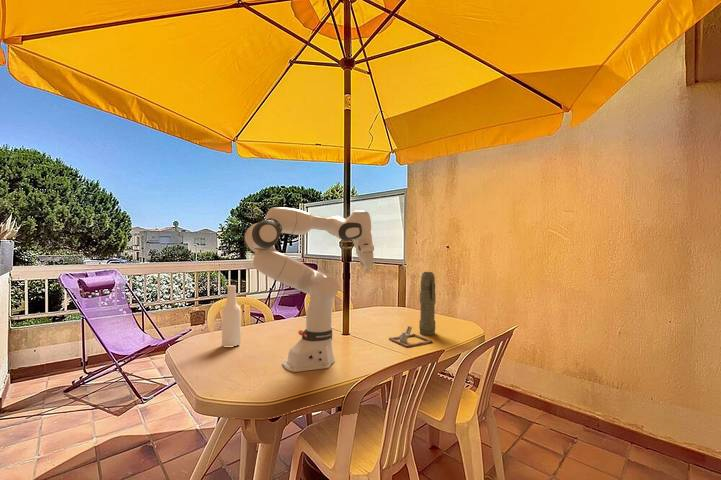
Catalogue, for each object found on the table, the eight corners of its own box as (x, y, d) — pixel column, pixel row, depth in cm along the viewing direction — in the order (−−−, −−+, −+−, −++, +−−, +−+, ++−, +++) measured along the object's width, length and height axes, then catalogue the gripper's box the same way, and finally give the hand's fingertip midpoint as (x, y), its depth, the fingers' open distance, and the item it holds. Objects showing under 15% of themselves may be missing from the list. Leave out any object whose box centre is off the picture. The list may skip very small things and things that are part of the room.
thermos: (428, 337, 189) (429, 273, 189) (414, 331, 199) (415, 271, 199) (440, 334, 194) (441, 272, 194) (426, 329, 204) (426, 271, 204)
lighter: (401, 343, 177) (401, 328, 177) (399, 342, 179) (399, 327, 179) (412, 341, 181) (412, 326, 181) (409, 340, 183) (410, 325, 182)
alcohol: (220, 349, 166) (220, 287, 166) (223, 343, 175) (224, 284, 175) (239, 347, 168) (239, 286, 168) (241, 342, 177) (242, 284, 176)
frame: (406, 347, 171) (406, 345, 171) (389, 339, 184) (389, 338, 184) (432, 342, 179) (432, 340, 179) (413, 335, 192) (413, 333, 192)
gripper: (352, 237, 176) (353, 262, 180) (361, 250, 157) (363, 278, 161) (363, 236, 177) (365, 261, 181) (375, 248, 158) (376, 275, 162)
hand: (364, 269), depth 171 cm, fingers open, 8 cm apart
